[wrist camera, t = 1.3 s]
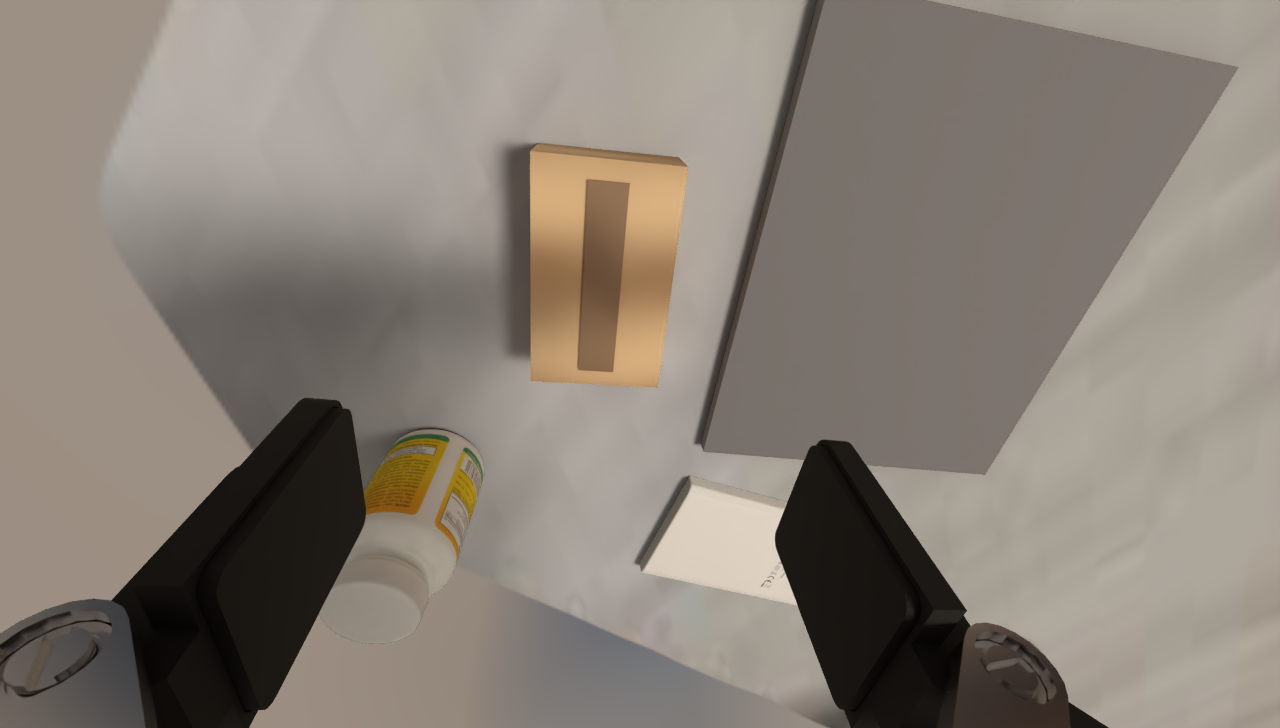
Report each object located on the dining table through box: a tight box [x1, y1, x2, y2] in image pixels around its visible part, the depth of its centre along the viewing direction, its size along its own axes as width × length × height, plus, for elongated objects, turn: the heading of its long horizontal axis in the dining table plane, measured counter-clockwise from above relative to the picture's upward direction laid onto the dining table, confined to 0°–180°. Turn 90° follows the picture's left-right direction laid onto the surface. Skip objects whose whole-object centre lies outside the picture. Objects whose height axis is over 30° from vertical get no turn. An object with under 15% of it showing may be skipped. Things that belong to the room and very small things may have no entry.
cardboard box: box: [530, 143, 688, 388], centre depth 23 cm, size 10×6×3 cm, turn 174°
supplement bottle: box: [319, 429, 484, 644], centre depth 25 cm, size 5×5×10 cm
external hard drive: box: [640, 476, 798, 606], centre depth 34 cm, size 2×8×12 cm
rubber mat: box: [701, 0, 1239, 475], centre depth 25 cm, size 22×18×1 cm
